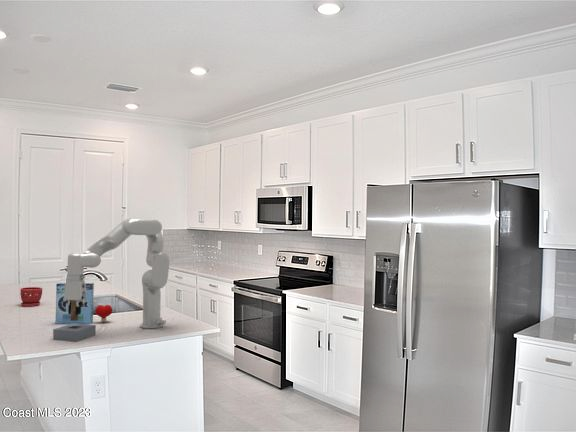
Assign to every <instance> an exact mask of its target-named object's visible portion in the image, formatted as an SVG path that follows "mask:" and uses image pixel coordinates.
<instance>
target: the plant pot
mask: <svg viewBox="0 0 576 432" xmlns="http://www.w3.org/2000/svg"><path fill="white" fill-rule="evenodd" d="M42 296H43V287H40V286H39V287H38V286H33V287H32V286H31V287H30V286H29V287H20V298H21V299H20V300H21V303H20V305H21V306H23V307H37V306H38V305H39V306H40V304H41V299H42Z"/></svg>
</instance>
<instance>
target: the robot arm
mask: <svg viewBox="0 0 576 432" xmlns="http://www.w3.org/2000/svg"><path fill="white" fill-rule="evenodd" d="M162 229H163V225H162V223H161V222H160V221H159V220H158V219H150V218H149V219H138V218H125V219H124V220H122V221H121V222H120V223H119V224H118V225H117V226H115V227H114V228H113V229H112V230H111V231H110V232H109V233H107V234H106V235H105V236H104V237H102V238H100V239H99V240H97V241H96V242H94V243H92V245H91V246H89V247H88V248H87V249H85V251H83V253H75V252H74V253H69V254H68V255H67V270H66V271H67V276H66V277H67V278H66V279H67V280H66V281H65V283H66V284H65V293H64V298H63V300H64V301H65V302H66V303H67V306H68V314H71V302H70V301H71V300H74V301H76V304H77V307H76V315H78V314H81V306H82V305H83V304H84V303H85V302H86V301H87V299H86V284H85V283H86V281H85V278H86V276H85V275H84V271H85V270H84V269H85V268H90V269H91V268H97V267H98V266H99V265H101V262H102V258H101V256H102V255H104V254H105V253H107V252H110V251H113V250H114V249H117V248H118V247H120V245H122V244H123V243H124V242H125V241H126V240H127V239H128V238H129V237H130V236H131V237H132V236H146V239H147V249H146V258H145V259H146V260H145V263H146V265H147V266H148V267H151V269H148V270H146V271H144V273H143V274H142V277H141V283H142V284H141V285H142V323H140V324H139V327H140V328H141V329H147V330H148V329H150V330H151V329H157V328H158V329H159V328H162V327H163V326H164V325H166V324H167V320H165V319H164V320H163V317H161V304H162V302H161V299H162V298H161V297H162V296H161V295H162V294H161V289H163V288H164V287H166V285H167V283H168V279H169V272H170V271H169V269H170V258H169V255H168V254H167V253H166V252H164V237H163V234H162Z"/></svg>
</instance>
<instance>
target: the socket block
mask: <svg viewBox="0 0 576 432" xmlns="http://www.w3.org/2000/svg"><path fill="white" fill-rule="evenodd" d="M96 327H97V326H96V324H74V323H72V324H65V325H62V326H60V327H56V328H53V329H52V332H53V333H52V340H56V341H57V340H58V341H67V342H80V341H83V340H86V339H88V338H90V337H93V336H96V329H97V328H96Z"/></svg>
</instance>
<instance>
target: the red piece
mask: <svg viewBox="0 0 576 432" xmlns="http://www.w3.org/2000/svg"><path fill="white" fill-rule="evenodd" d="M94 311H95V314H96V315H97V316H98V317H100V321H101V322H102V323H103V324H104V323H106V321H107V317H109V316H110V315H112V313H113V308H112V306H111V305H109V304H106V305H102V304H101V305H100V304H99V305H97V306H96V307H95V310H94Z"/></svg>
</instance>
